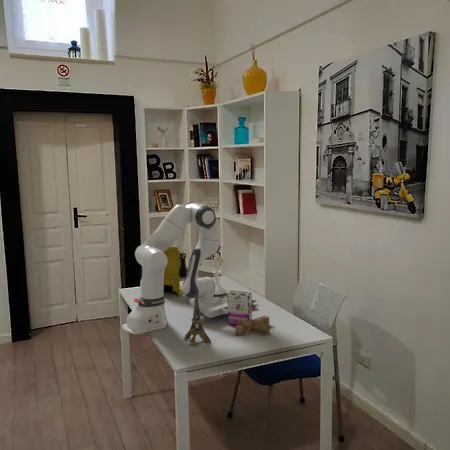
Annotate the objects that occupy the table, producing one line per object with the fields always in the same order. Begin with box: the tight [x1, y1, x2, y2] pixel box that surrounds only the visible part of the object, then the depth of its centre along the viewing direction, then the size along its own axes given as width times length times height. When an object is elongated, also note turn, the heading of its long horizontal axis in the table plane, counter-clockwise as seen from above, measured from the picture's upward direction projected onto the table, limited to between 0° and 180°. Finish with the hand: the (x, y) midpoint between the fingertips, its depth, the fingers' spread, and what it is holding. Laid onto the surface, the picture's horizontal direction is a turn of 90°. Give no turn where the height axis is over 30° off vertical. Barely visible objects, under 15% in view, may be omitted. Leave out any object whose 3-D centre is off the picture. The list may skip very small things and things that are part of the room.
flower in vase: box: [212, 252, 228, 296], centre depth 272 cm, size 13×11×25 cm
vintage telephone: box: [163, 245, 190, 297], centre depth 276 cm, size 31×14×30 cm, turn 63°
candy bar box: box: [226, 290, 253, 327], centre depth 220 cm, size 11×5×16 cm, turn 68°
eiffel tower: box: [183, 293, 212, 347], centre depth 202 cm, size 11×11×25 cm
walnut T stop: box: [234, 315, 271, 337], centre depth 212 cm, size 20×11×4 cm, turn 133°
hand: (231, 312), depth 225 cm, fingers closed
